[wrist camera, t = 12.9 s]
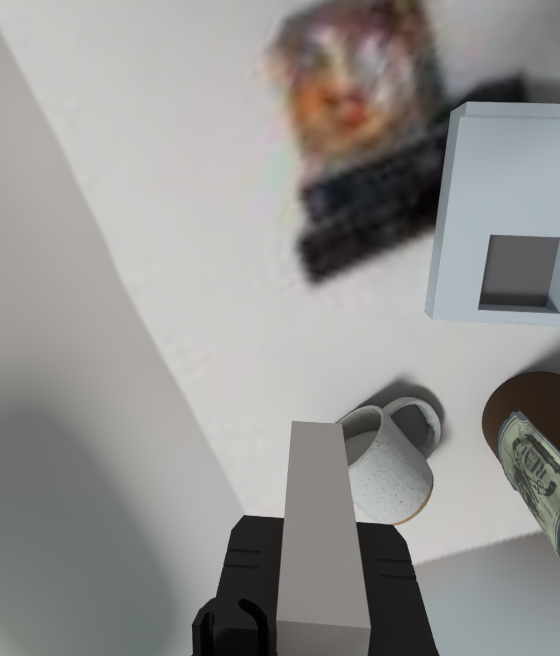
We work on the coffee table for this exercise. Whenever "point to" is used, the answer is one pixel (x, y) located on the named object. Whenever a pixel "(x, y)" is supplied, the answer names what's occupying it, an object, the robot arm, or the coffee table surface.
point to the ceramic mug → (389, 462)
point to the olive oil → (529, 443)
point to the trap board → (499, 217)
